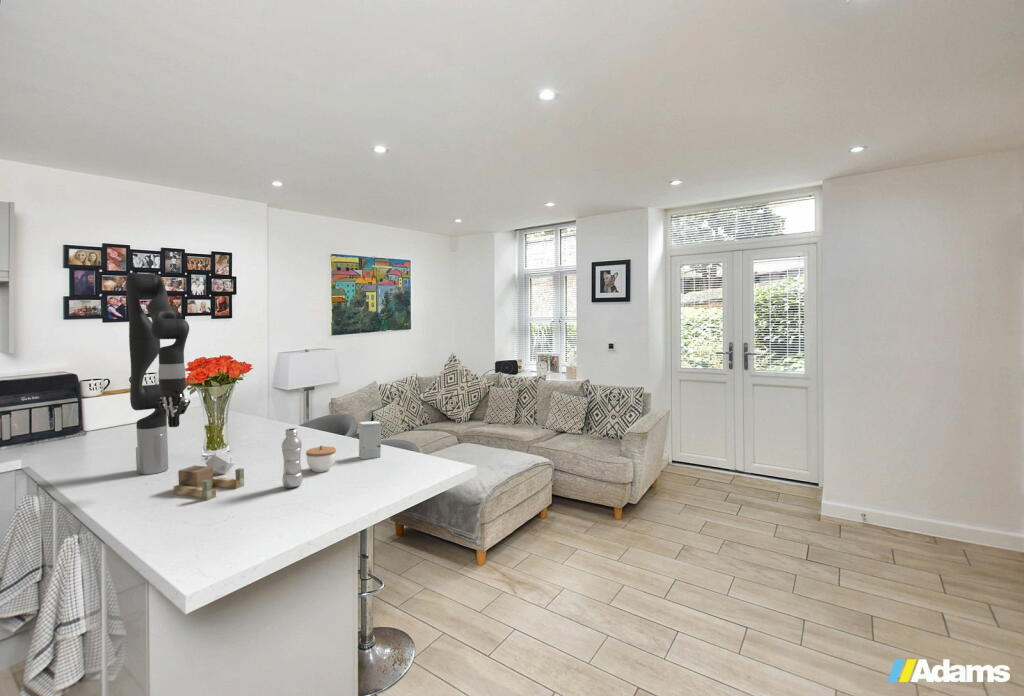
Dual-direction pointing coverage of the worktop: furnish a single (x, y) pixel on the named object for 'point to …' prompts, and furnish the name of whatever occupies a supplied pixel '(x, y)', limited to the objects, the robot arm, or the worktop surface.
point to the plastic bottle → (292, 459)
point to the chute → (206, 486)
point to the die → (220, 462)
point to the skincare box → (369, 439)
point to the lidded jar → (321, 458)
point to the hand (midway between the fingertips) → (174, 426)
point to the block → (195, 476)
